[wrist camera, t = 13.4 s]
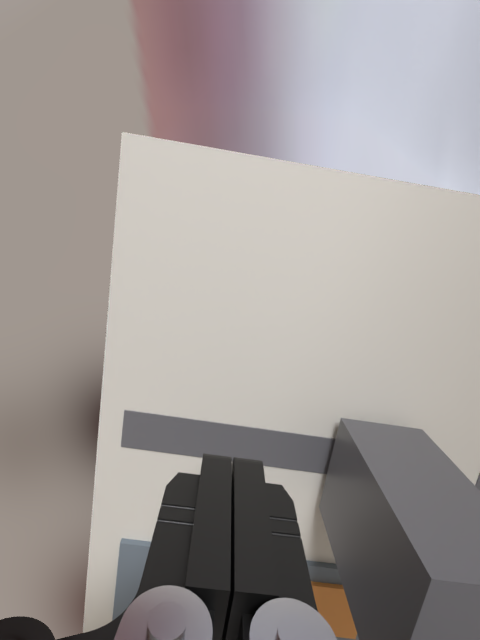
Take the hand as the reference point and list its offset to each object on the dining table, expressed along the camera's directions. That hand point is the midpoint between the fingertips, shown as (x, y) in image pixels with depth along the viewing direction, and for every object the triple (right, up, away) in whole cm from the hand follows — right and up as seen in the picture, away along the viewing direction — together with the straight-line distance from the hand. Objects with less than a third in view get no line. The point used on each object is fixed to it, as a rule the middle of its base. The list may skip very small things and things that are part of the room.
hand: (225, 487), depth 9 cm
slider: (+4, 0, +2) cm, 4 cm away
